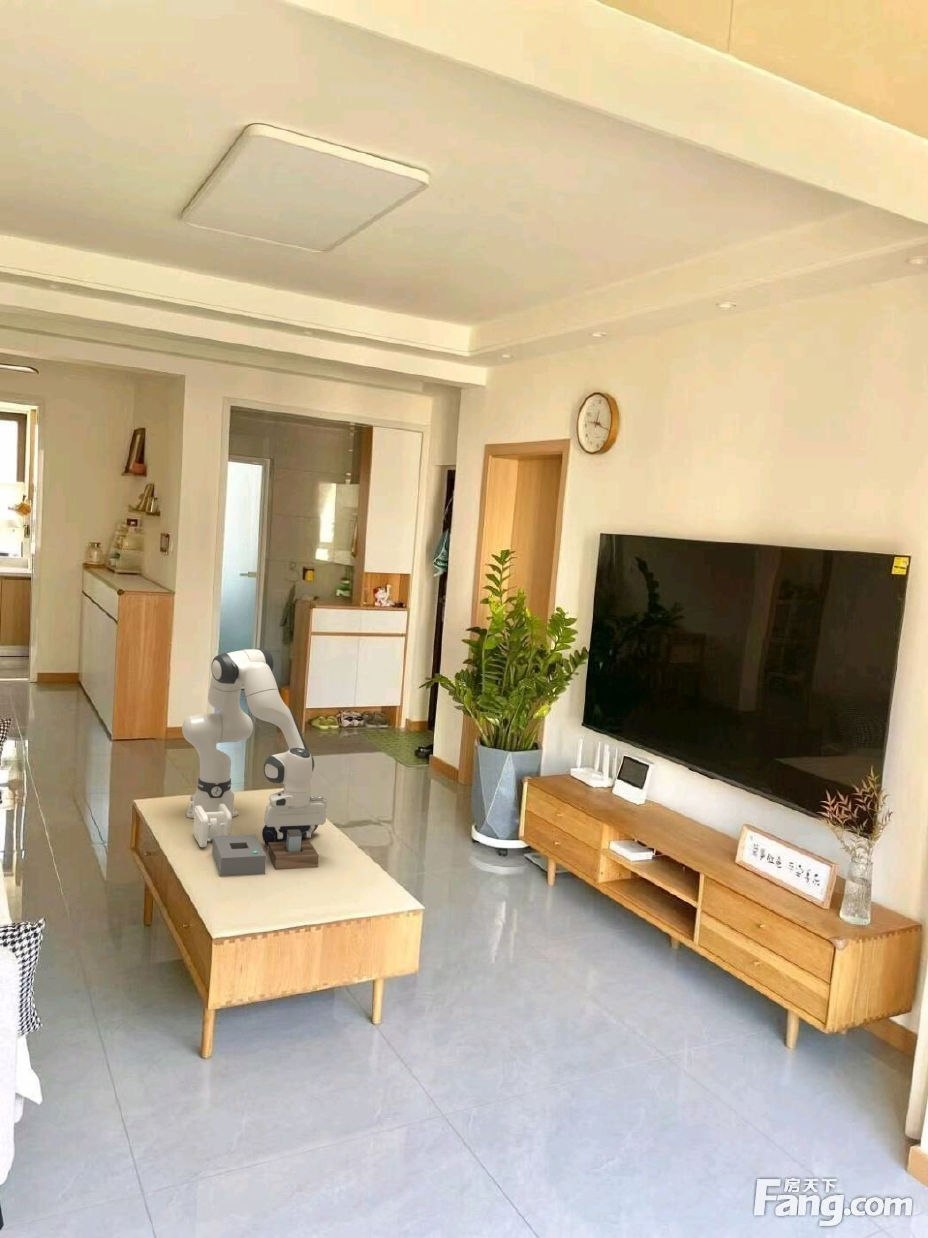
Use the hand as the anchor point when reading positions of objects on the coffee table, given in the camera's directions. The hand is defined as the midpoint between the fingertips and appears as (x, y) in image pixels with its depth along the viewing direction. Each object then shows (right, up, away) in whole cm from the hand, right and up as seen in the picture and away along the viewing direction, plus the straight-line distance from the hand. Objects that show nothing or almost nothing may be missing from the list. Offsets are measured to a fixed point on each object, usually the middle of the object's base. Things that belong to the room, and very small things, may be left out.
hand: (294, 838), depth 321 cm
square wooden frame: (-1, -8, +1) cm, 8 cm away
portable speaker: (-5, -6, +19) cm, 20 cm away
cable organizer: (-31, -4, +11) cm, 33 cm away
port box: (-17, -7, -6) cm, 20 cm away
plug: (-1, -8, +1) cm, 8 cm away
